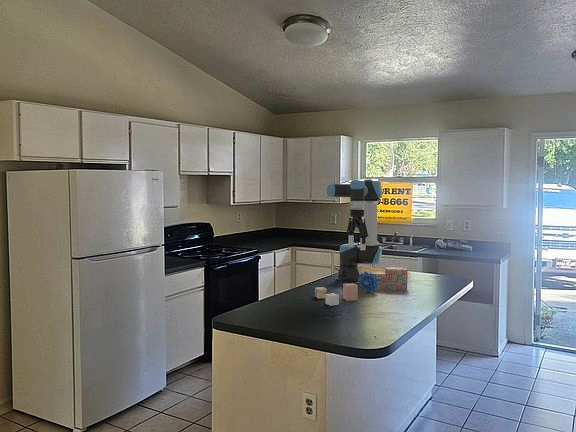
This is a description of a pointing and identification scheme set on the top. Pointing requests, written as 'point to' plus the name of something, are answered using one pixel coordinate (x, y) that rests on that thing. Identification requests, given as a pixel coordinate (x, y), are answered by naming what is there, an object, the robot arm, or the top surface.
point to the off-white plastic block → (332, 299)
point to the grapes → (368, 282)
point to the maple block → (320, 292)
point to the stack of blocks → (392, 279)
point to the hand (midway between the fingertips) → (356, 248)
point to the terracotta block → (350, 291)
